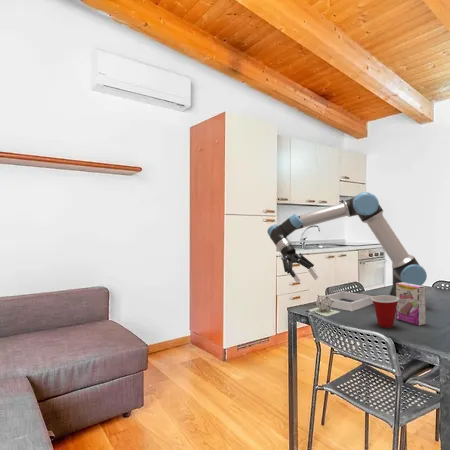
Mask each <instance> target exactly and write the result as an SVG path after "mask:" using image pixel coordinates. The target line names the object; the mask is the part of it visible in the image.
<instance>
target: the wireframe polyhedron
mask: <svg viewBox="0 0 450 450" xmlns="http://www.w3.org/2000/svg"><path fill="white" fill-rule="evenodd" d="M326 295H328V294H327V293H326V294H325V295H319V294H317V299H316V302H315V303H313V306H316V308H317V307H318V308H319V309H320V310H321V312H322V311H324V310H329V311H330V309H331V308H332V307H331V305H332V302H334V301H332V300H330V299H329V298H328V296H326Z"/></svg>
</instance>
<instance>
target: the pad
mask: <svg viewBox="0 0 450 450" xmlns="http://www.w3.org/2000/svg"><path fill="white" fill-rule="evenodd" d="M308 310H309V311H315V312H316V313H318V314H320V315H319V316H321V315H322V317H331V316H333V315H336V314H339V313H341V312H340V311H339V310H334V309H331V308H330V311H329V310H324V311H322V312H321V310H320V309H319V308H318V307H317V306H316V307H314V308H311V309H308Z"/></svg>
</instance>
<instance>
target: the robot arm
mask: <svg viewBox="0 0 450 450" xmlns="http://www.w3.org/2000/svg"><path fill="white" fill-rule="evenodd" d="M383 214H384V209H383V208H382V206H381V205H380V203H379V199H378V197H377V196H376V195H375V194H373V193H371V192H361V193H358V194H356V196H355V195H354V196H353V197H352V198H349V199H345V200H344V201H343V202H342V203H338V204H335V205H331V206H328V207H324V208H321V209H318V210H315V211H310V212H307V213H304V214H300V215H297V213H293V214H292V215H291V216H289V217H288V218H287V219H286V220H285V221H283V222H282V223H281V224H279V225H278V224H275V223H274V224H272V225H270V226H269V227H268V228H267V235H268V236H269V238H270V240H271V241H272V242H273V244H274V245H275V247H277V249H278V251H279V252H280V254H281V255H282V256H281V257H280V260H281V261H282V265H283V270H284V272H285V273H287V275H288V274H289V275H290V276H291V278H293V279H294V281H295V283H296V284H299V283H300V282H301V280H302V279H301V278H300V276H299V275H298V273H297V272H296V271H295V269H293V264H299V265H301V266H302V267H304V268H305V269H307V270H308V273H309V274H310V275H311V277H312V278H313V279H314V280H315V281H316V280H318V279H319V277H320V276H319V274H318V273H317V272H316V270H315V269H314V268H313V267H314V266H315V264H314V263H313V262H312V261H310V260H308V259H307V258H306V257H305V256H304V255H303V254H302V253H301V252H300V253H297V252H296V251H297V250H296V248H295V247H294V245H292V243H291V241H290V240H289V239H288V236H290V235H291V234H293V233H294V232H295V231H297V230H301V229H304V228H308V227H311V226H314V225H318V224H319V225H320V224H321V223H325V222H326V223H327V222H329V221H332V220H336V219H340V218H344V217H348V218H351V217H354V216H357V217H358V218H359V219H360V221H361V222H362V223H365V224H366V225H367V226H368V228H369V229H370V230H371V232H372V233H373V235H374V236H375V238H376V239H377V241H378V242H379V244H380V245H381V247H382V249H383V250H384V252H385V253H386V255H387V256H388V258H389V259H390V261H391V262H392V263H391V268H392V287H391V290H390V292H389V294H388V295H389V296H395V297H396V283H401V282H404V283H409V284H414V285H419V286H423V285H424V283H425V282H426V280H427V272H426V270H425V268H424V267H423V265H420V263H419V262H418V260H417V259H416V258H415V256H414V255H412V254H409V253H408V251H407V250H406V248H405V247H404V245H403V244H402V243H401V241H400V239H399V237H398V236H397V235H396V232H395V231H394V230H393V229H392V227H391V226H390V224H389V222H388V221H387V219H386V218H385V217H384V215H383Z"/></svg>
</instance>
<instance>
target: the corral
mask: <svg viewBox="0 0 450 450" xmlns="http://www.w3.org/2000/svg"><path fill="white" fill-rule="evenodd" d="M325 295H326V294H325ZM326 296H328V298H329V299H330V300H332V301H334V302H332V305H331V307H330V308H332V309H333V308H334V309H339V310H344V311H347V312H354V311H357V310H359V309H362V308H365V307H368V306H371V305H374V303H373V301H372V300H371V298H372V297H374V295H369V294H368V295H367V294H362V293H356V292H351V291H345V290H341V291H337V292H335V293H331V294H327V295H326ZM343 299H344V300H343ZM345 300H350V301H351V302H349V301H345Z"/></svg>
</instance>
